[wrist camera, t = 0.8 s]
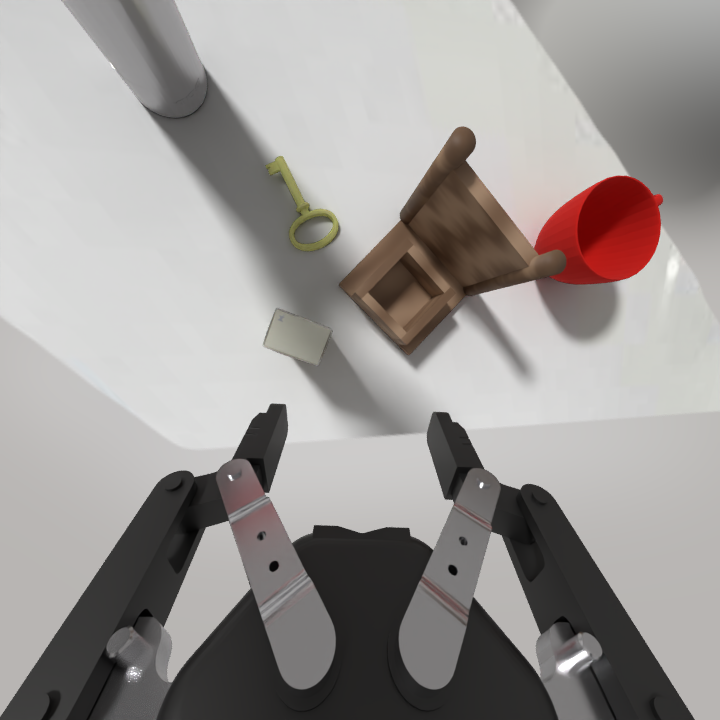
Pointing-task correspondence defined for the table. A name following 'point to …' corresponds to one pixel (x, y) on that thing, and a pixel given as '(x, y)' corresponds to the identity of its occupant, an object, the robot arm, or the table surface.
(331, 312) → the table surface
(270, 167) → the key
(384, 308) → the headboard stand
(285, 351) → the skincare box
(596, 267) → the ceramic cup
